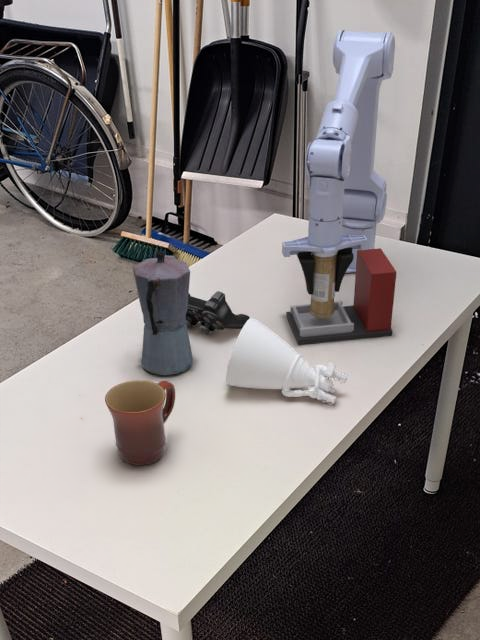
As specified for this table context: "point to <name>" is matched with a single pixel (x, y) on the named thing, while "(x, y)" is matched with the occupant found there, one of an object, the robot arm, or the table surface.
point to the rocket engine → (276, 365)
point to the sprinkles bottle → (323, 285)
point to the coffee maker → (366, 313)
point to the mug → (140, 418)
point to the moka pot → (164, 313)
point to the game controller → (213, 314)
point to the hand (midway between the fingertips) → (322, 290)
